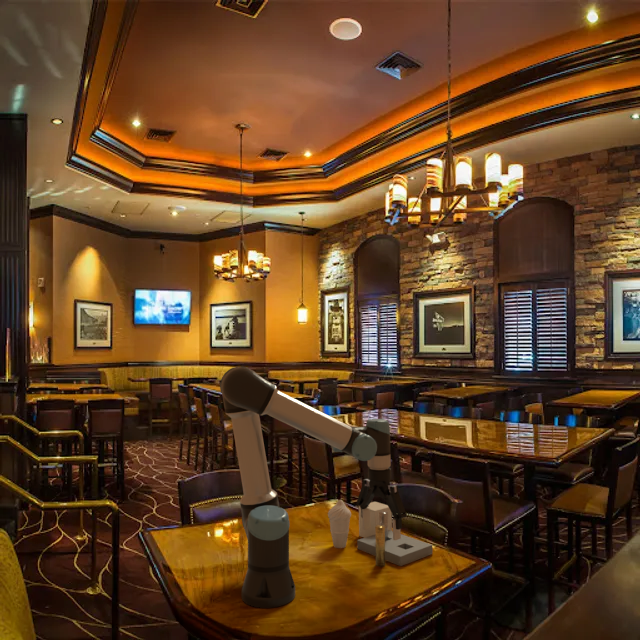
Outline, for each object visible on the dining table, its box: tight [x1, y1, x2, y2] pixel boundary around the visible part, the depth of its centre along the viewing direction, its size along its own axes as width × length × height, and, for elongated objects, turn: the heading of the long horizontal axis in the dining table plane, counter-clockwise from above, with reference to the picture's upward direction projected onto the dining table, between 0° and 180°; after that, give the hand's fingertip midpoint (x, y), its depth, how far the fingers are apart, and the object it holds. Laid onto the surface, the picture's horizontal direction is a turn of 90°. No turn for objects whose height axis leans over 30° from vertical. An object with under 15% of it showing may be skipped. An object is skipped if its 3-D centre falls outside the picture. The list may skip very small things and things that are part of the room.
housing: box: [358, 501, 393, 538], centre depth 200 cm, size 9×9×11 cm
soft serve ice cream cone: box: [327, 499, 352, 549], centre depth 190 cm, size 8×8×16 cm
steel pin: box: [379, 511, 388, 541], centre depth 188 cm, size 3×3×12 cm
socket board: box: [356, 530, 434, 567], centre depth 184 cm, size 16×20×3 cm
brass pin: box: [375, 525, 386, 568], centre depth 173 cm, size 3×3×12 cm
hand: (381, 533), depth 173 cm, fingers open, 13 cm apart
